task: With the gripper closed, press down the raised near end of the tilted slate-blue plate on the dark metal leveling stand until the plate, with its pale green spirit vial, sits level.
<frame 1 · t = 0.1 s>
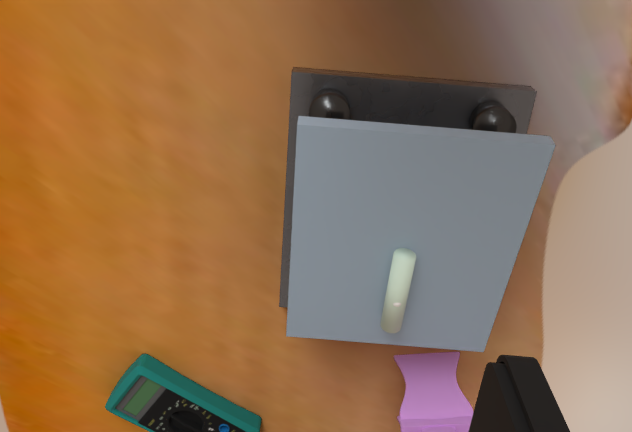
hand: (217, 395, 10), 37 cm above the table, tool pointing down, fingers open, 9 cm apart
toy chair: (426, 386, 58), on the table
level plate: (403, 255, 41), point 8 cm above the table, hinge at 9.0°
digital multimeter: (188, 401, 61), on the table
leveling stand: (393, 201, 49), on the table
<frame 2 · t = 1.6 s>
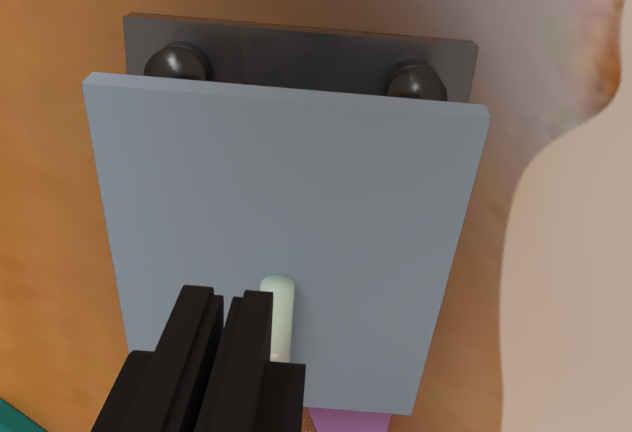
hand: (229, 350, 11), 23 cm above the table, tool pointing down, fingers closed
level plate: (278, 285, 28), point 8 cm above the table, hinge at 9.0°
leveling stand: (291, 205, 35), on the table
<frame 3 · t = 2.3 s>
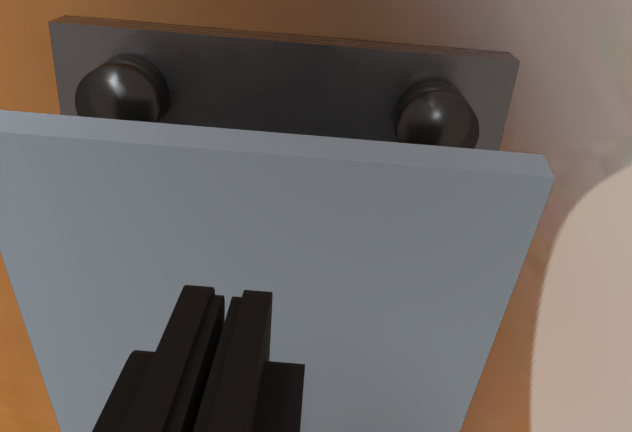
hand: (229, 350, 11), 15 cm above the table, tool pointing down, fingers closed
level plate: (255, 382, 21), point 8 cm above the table, hinge at 9.0°
leveling stand: (276, 254, 28), on the table
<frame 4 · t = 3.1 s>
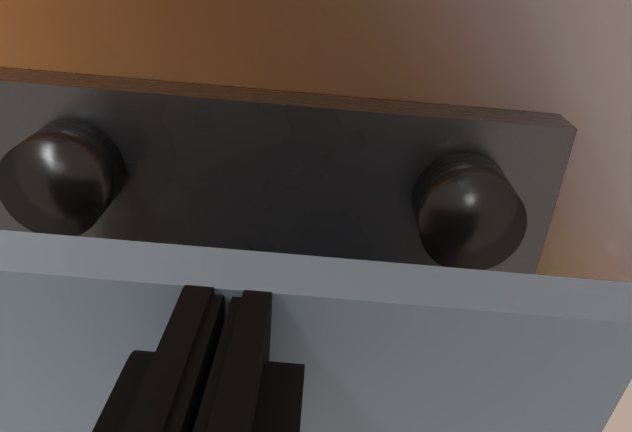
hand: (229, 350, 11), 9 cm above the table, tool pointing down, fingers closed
leveling stand: (265, 350, 23), on the table
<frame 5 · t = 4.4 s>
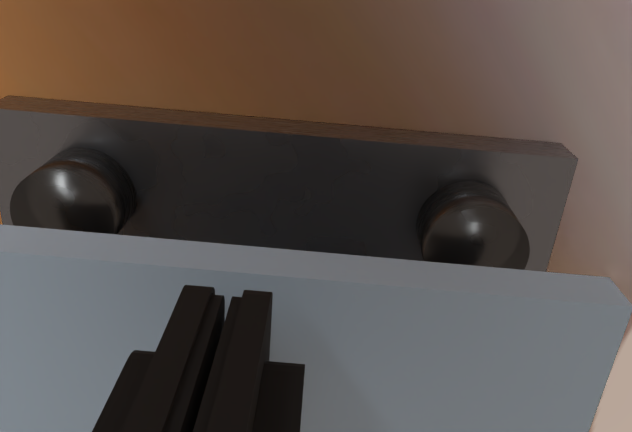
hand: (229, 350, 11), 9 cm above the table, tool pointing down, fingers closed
leveling stand: (270, 373, 23), on the table
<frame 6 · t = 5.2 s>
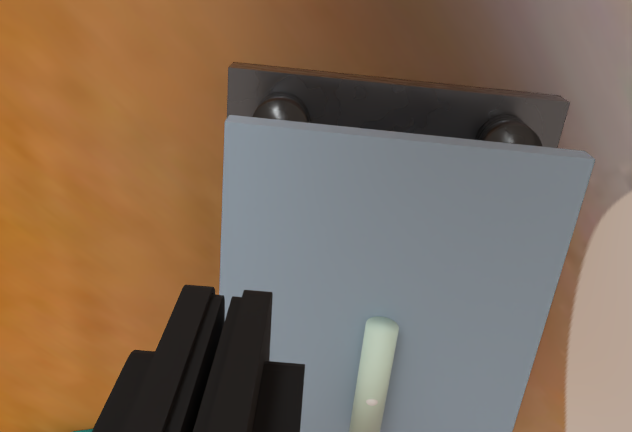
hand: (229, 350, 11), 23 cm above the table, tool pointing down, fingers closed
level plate: (380, 327, 29), point 8 cm above the table, hinge at -0.9°
leveling stand: (371, 247, 36), on the table
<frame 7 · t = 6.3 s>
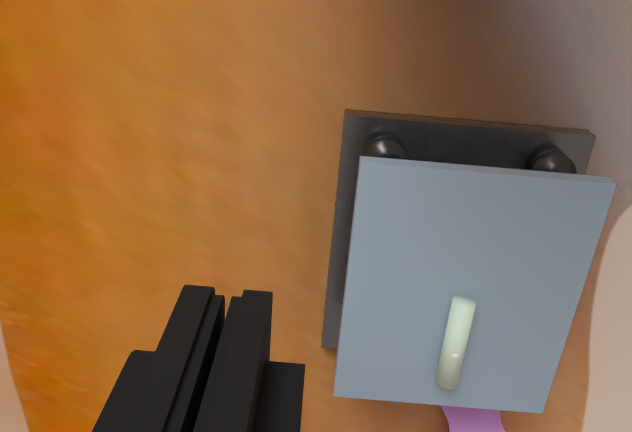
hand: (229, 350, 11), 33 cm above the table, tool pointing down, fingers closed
toy chair: (467, 425, 57), on the table
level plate: (461, 302, 40), point 8 cm above the table, hinge at -0.9°
leveling stand: (441, 243, 48), on the table
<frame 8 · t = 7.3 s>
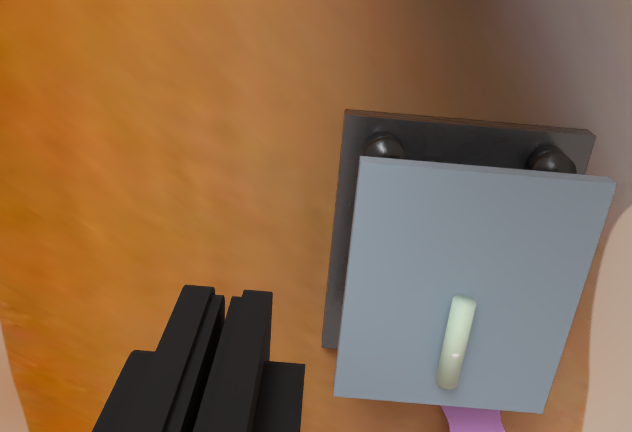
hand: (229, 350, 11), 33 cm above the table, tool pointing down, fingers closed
toy chair: (467, 425, 57), on the table
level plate: (461, 302, 40), point 8 cm above the table, hinge at -0.9°
leveling stand: (442, 243, 48), on the table
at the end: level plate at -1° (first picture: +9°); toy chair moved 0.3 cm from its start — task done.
